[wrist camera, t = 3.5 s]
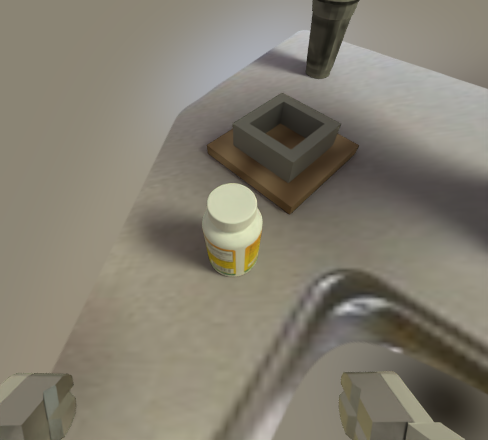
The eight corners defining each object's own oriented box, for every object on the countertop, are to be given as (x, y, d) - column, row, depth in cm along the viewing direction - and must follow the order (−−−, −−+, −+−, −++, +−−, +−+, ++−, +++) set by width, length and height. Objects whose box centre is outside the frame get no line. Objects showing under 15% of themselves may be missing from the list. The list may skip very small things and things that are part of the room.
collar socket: (355, 153, 37) (369, 123, 33) (289, 214, 31) (297, 187, 27) (276, 108, 43) (279, 78, 39) (207, 153, 37) (203, 123, 33)
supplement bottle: (214, 283, 27) (203, 238, 18) (205, 239, 29) (191, 183, 21) (264, 270, 27) (274, 222, 19) (250, 229, 30) (254, 171, 22)
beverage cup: (294, 78, 48) (323, -88, 31) (303, 59, 52) (332, -97, 35) (333, 85, 47) (385, -83, 30) (339, 66, 51) (388, -93, 34)
